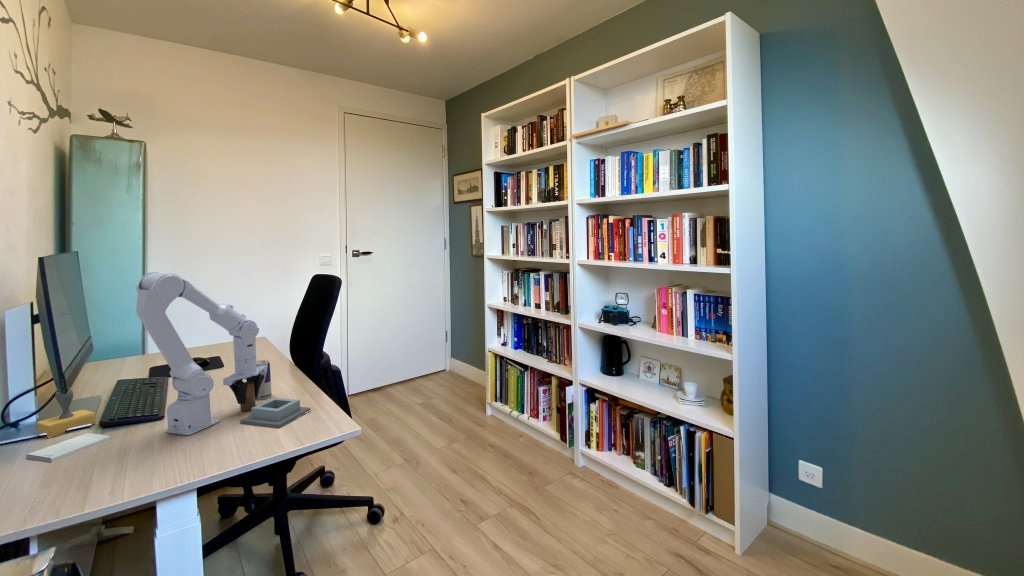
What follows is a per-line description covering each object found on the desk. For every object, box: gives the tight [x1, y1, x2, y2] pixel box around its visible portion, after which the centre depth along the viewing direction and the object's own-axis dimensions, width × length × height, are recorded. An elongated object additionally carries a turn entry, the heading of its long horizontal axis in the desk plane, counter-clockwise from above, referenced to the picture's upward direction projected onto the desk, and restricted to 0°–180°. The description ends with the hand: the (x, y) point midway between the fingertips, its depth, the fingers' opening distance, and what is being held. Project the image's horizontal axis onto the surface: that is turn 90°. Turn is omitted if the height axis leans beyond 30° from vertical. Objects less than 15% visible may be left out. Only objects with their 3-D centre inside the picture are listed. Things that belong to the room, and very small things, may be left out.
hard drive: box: [25, 432, 111, 463], centre depth 109 cm, size 2×8×12 cm
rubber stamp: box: [36, 387, 97, 438], centre depth 119 cm, size 10×6×12 cm, turn 159°
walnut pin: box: [239, 381, 256, 412], centre depth 135 cm, size 4×4×8 cm
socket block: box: [239, 397, 311, 429], centre depth 129 cm, size 13×13×4 cm
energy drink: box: [255, 359, 272, 401], centre depth 145 cm, size 5×5×12 cm
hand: (247, 401), depth 135 cm, fingers closed on walnut pin, 4 cm apart
